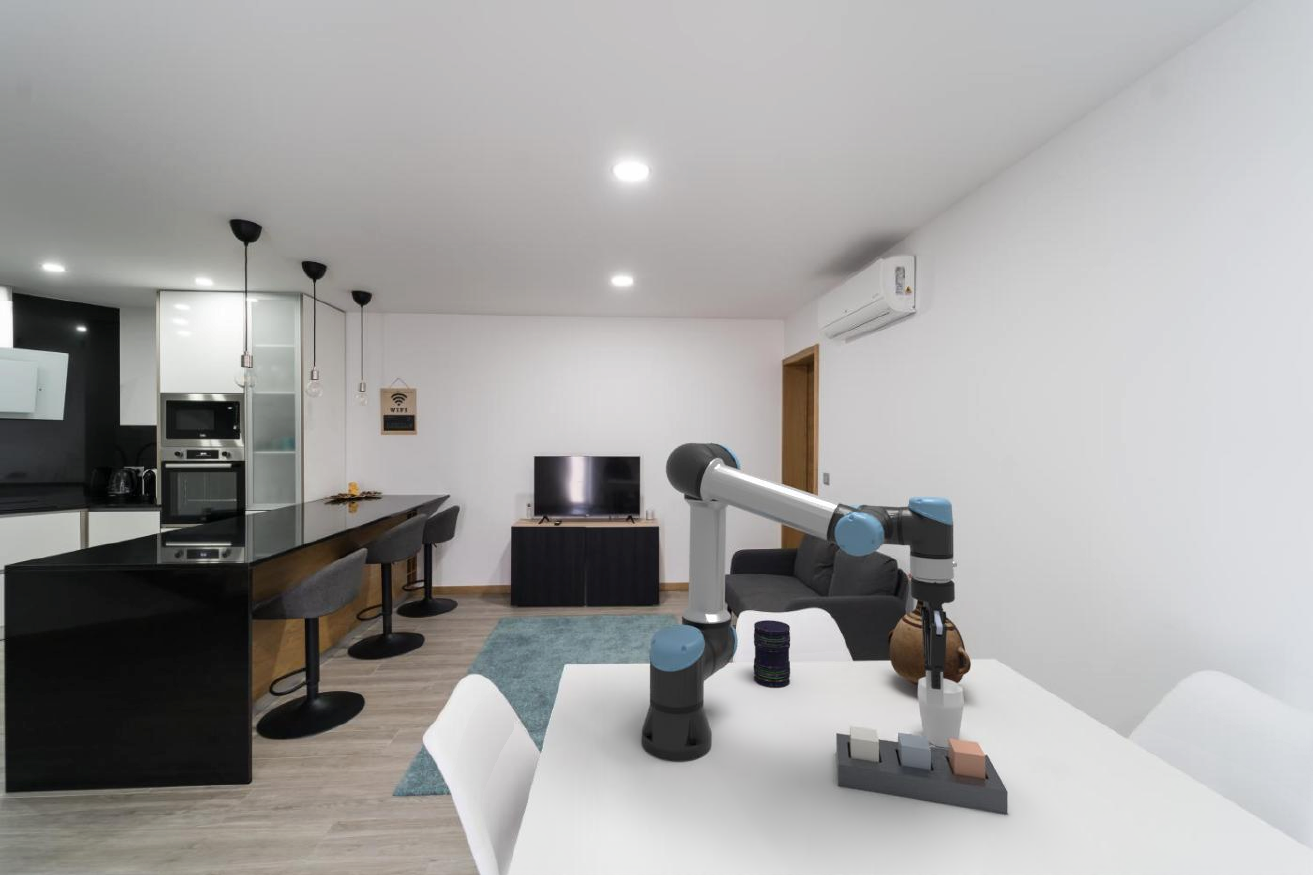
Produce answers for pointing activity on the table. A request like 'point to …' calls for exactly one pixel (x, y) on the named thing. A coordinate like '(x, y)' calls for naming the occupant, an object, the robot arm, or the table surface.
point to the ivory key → (864, 744)
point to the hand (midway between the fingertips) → (935, 703)
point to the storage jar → (772, 654)
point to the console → (920, 778)
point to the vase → (910, 649)
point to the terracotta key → (966, 758)
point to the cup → (941, 713)
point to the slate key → (914, 751)
